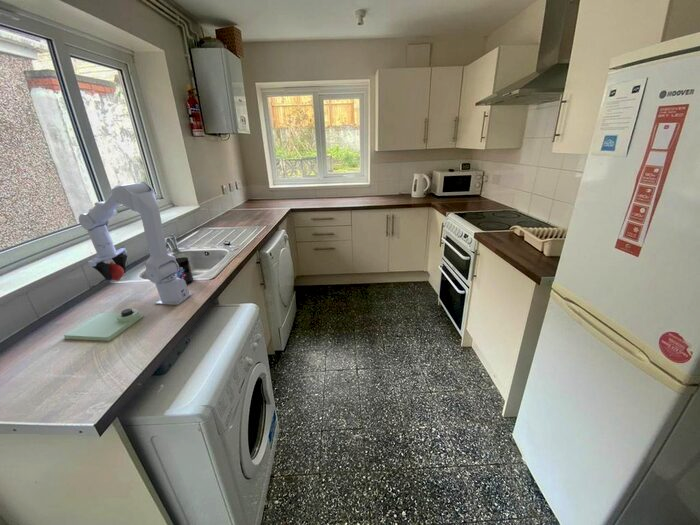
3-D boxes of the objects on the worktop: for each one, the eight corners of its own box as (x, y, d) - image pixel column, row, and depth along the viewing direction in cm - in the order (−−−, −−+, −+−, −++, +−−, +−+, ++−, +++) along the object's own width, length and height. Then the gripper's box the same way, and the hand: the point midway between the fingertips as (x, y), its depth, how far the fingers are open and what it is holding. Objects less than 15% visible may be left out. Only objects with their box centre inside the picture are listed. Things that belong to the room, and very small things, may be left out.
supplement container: (175, 282, 126) (168, 260, 122) (191, 277, 130) (185, 256, 126) (179, 287, 122) (172, 264, 118) (196, 281, 126) (190, 259, 122)
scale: (144, 316, 101) (141, 309, 100) (110, 341, 88) (107, 333, 87) (104, 315, 103) (100, 308, 102) (65, 338, 91) (61, 331, 90)
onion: (117, 284, 112) (109, 265, 109) (105, 283, 113) (97, 264, 110) (130, 277, 117) (123, 259, 114) (119, 277, 118) (111, 259, 115)
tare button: (135, 312, 99) (133, 308, 98) (127, 317, 96) (126, 313, 95) (127, 312, 99) (125, 308, 98) (120, 317, 96) (118, 313, 96)
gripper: (111, 237, 116) (123, 268, 121) (75, 250, 103) (90, 284, 108) (126, 237, 115) (137, 268, 120) (92, 250, 102) (106, 284, 107)
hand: (116, 275), depth 114 cm, fingers closed on onion, 6 cm apart
